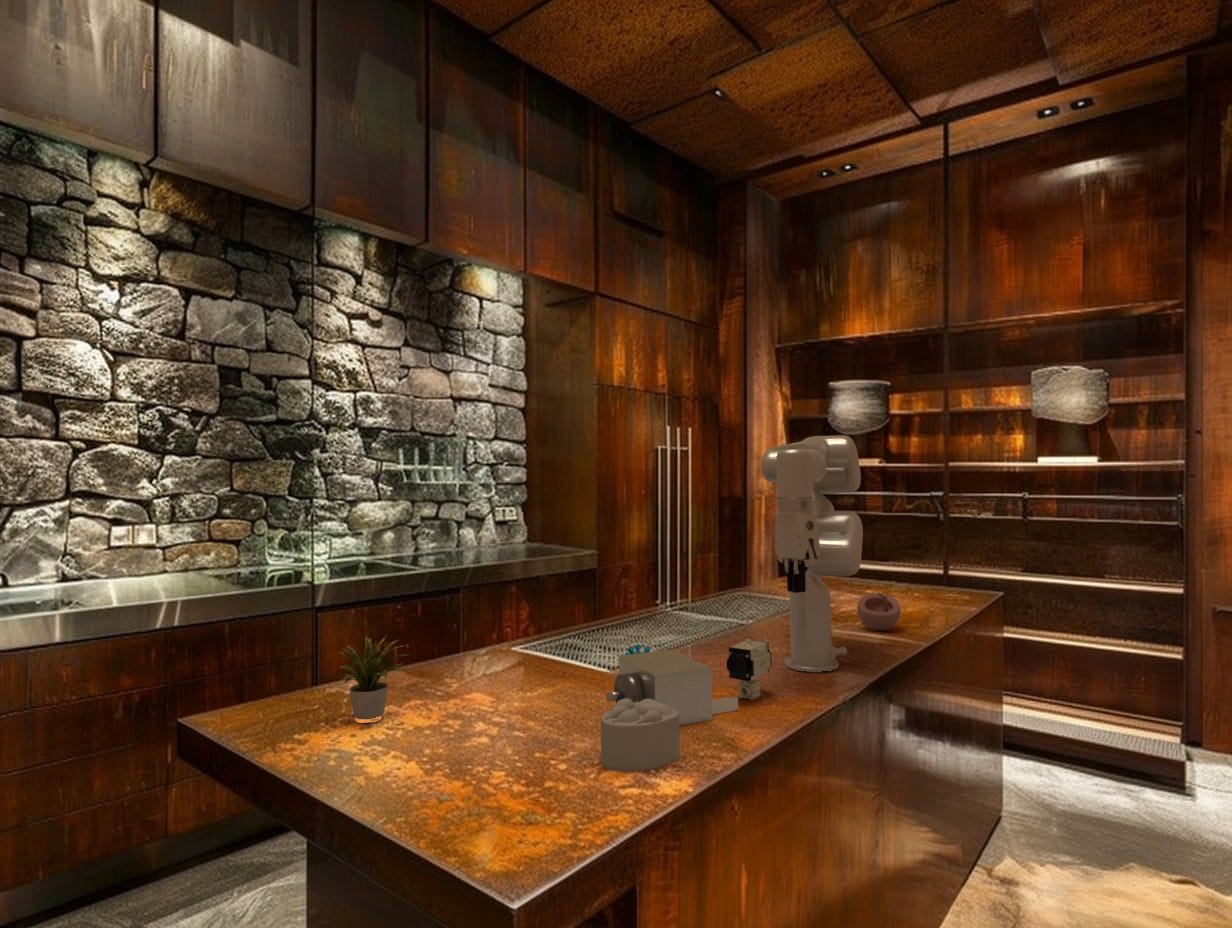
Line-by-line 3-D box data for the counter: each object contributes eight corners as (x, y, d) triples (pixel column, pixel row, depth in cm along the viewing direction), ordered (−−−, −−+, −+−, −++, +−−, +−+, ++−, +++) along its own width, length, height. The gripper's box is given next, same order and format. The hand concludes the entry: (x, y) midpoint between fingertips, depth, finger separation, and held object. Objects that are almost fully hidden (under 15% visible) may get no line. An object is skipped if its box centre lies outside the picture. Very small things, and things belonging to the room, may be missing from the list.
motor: (702, 691, 151) (701, 645, 151) (745, 714, 136) (744, 663, 136) (592, 708, 140) (591, 659, 141) (625, 734, 126) (624, 679, 126)
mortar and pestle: (861, 634, 204) (860, 594, 204) (854, 625, 216) (853, 588, 216) (905, 635, 202) (904, 595, 202) (895, 626, 214) (894, 588, 214)
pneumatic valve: (726, 702, 143) (725, 643, 144) (752, 688, 153) (751, 632, 153) (750, 707, 140) (749, 647, 140) (776, 693, 149) (775, 636, 150)
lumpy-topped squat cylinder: (688, 758, 115) (687, 705, 115) (624, 778, 108) (623, 721, 108) (648, 739, 124) (647, 690, 124) (586, 757, 116) (586, 704, 116)
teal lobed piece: (633, 681, 153) (620, 642, 160) (621, 696, 157) (610, 657, 164) (675, 681, 159) (661, 643, 165) (663, 695, 162) (650, 657, 169)
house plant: (371, 739, 125) (371, 646, 126) (310, 730, 130) (310, 641, 131) (420, 713, 139) (419, 630, 139) (363, 706, 144) (362, 626, 144)
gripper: (833, 506, 147) (834, 595, 146) (786, 504, 161) (788, 585, 160) (803, 507, 144) (805, 598, 143) (759, 505, 158) (760, 588, 157)
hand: (796, 591), depth 152 cm, fingers closed
